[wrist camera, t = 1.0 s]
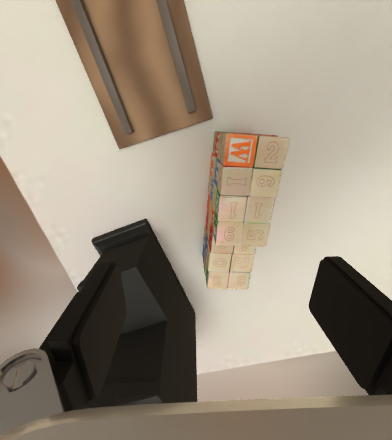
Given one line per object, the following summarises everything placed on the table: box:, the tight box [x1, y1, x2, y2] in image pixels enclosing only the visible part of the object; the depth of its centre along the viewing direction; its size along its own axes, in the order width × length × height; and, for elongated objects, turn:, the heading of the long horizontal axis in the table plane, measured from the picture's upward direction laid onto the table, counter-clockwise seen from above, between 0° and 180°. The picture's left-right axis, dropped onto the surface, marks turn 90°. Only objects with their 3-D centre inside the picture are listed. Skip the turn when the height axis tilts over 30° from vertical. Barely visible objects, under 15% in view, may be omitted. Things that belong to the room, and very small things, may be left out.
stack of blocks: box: [203, 132, 289, 289], centre depth 30 cm, size 21×6×12 cm, turn 176°
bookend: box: [77, 219, 197, 408], centre depth 31 cm, size 23×11×24 cm, turn 21°
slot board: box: [56, 0, 213, 149], centre depth 26 cm, size 14×23×2 cm, turn 17°
